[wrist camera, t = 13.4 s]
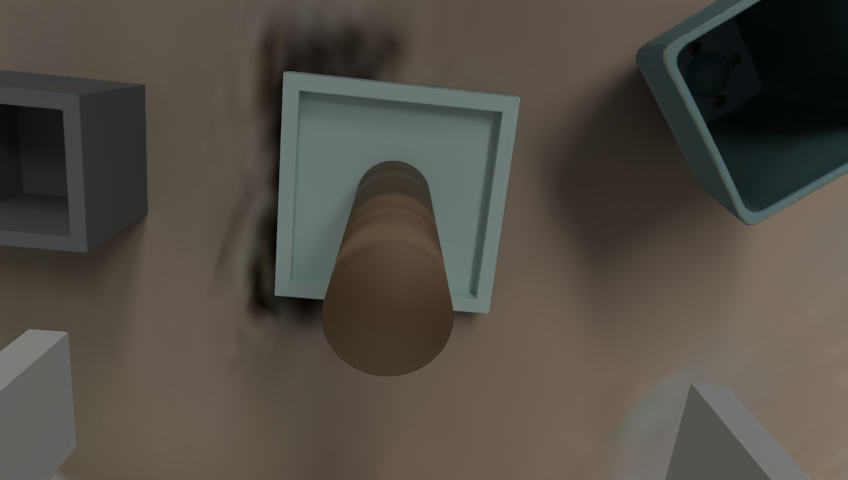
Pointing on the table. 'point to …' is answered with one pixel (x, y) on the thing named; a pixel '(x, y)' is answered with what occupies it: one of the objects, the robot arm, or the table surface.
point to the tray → (391, 141)
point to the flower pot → (756, 99)
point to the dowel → (389, 277)
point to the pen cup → (70, 160)
